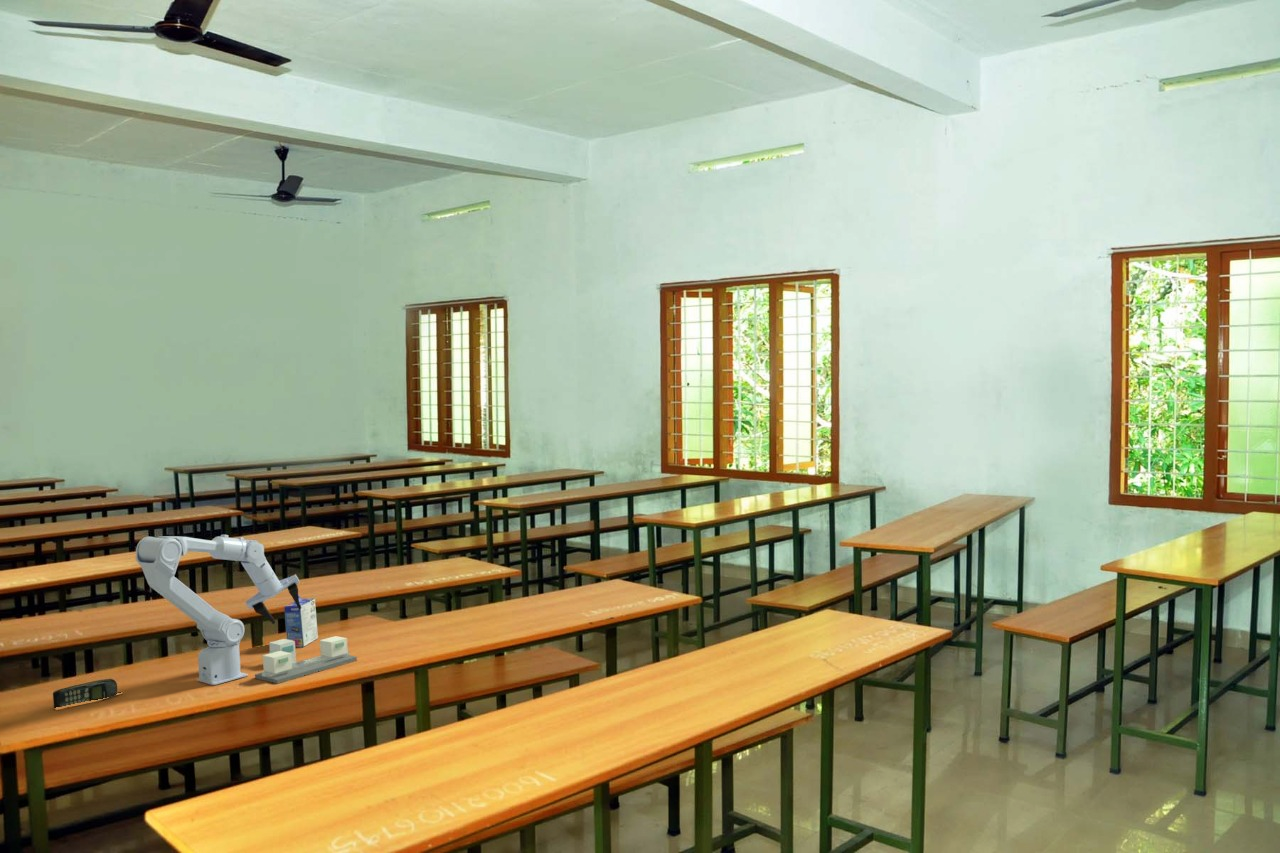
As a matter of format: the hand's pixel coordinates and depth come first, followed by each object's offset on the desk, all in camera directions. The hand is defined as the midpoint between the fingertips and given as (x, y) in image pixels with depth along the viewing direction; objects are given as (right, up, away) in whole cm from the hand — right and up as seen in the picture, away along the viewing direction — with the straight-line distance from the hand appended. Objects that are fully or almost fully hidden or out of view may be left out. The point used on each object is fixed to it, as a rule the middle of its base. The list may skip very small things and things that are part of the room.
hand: (286, 614), depth 269 cm
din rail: (+10, -12, -11) cm, 19 cm away
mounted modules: (+10, -10, -11) cm, 18 cm away
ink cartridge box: (-2, -12, +17) cm, 21 cm away
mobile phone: (-36, -15, -33) cm, 51 cm away
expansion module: (+1, -12, -5) cm, 13 cm away
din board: (+10, -12, -11) cm, 19 cm away
